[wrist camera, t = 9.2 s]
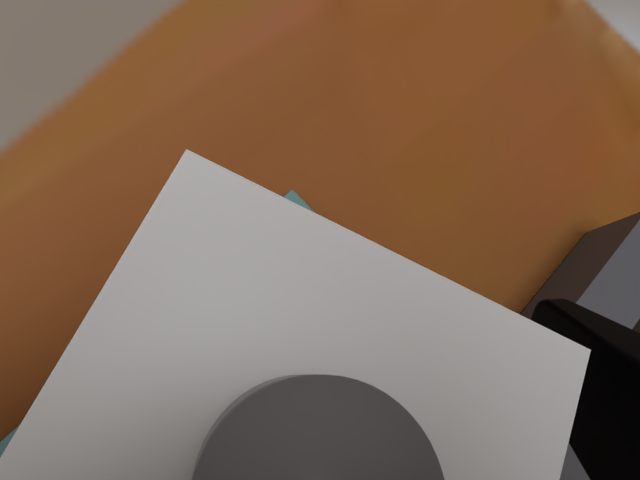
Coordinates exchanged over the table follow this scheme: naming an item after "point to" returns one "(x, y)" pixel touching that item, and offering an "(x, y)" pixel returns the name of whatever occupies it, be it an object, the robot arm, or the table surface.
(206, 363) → the white tall block
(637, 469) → the robot arm
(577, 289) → the power strip
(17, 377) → the table surface
